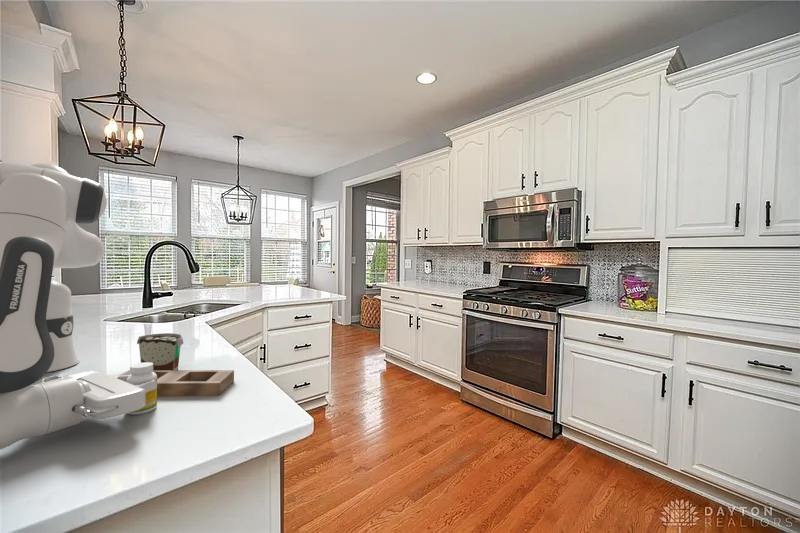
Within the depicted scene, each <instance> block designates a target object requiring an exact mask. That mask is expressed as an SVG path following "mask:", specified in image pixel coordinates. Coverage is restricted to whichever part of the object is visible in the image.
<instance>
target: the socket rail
mask: <svg viewBox="0 0 800 533" xmlns="http://www.w3.org/2000/svg"><path fill="white" fill-rule="evenodd" d="M152 372H154V373H156V375H157V397H186V396H187V397H188V396H189V397H190V396H191V397H193V396H194V397H196V396H197V397H199V396H200V397H201V396H206V397H207V396H210V397H211V396H212V397H213V396H221V394H223V392H225V390H227V388H229V387H230V386H231V385H232V384H233V383H234V382H235V370H234V369H206V370H205V369H202V370H200V369H195V370H194V369H193V370H192V369H191V370H190V369H187V370H186V369H185V370H183V369H180V370H179V369H178V370H153V371H152ZM123 375H131V373H130V369H128V370H127V371H125V372H122V373H121V374H119V375H118V376H123ZM233 381H234V382H233ZM232 382H233V383H232ZM231 383H232V384H231ZM230 384H231V385H230ZM229 385H230V386H229ZM228 386H229V387H228Z"/></svg>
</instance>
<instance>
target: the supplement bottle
mask: <svg viewBox="0 0 800 533" xmlns="http://www.w3.org/2000/svg"><path fill="white" fill-rule="evenodd" d="M129 370H130V373H131V374H132V375H130V376H129V377H128V378H127V379H126V382H128V383H130V384H133V385H141V384H143V383H144V381H149V380H154V381H157V375H156V373H154V372H152V371H153V363H150V362H144V363H141V362H137V363H134V364H132V365H130V367H129ZM157 407H158V396H157V388H156V389H154V390H151V391H148V392H147V393H146V403H145V406H144V407H142V408H141V409H139V410H136V411H133V412H129V413H127V415H143V414H147V413H149V412H152V411H154V410H155V409H156V408H157Z"/></svg>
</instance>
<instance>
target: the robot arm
mask: <svg viewBox="0 0 800 533" xmlns="http://www.w3.org/2000/svg"><path fill="white" fill-rule="evenodd" d="M107 199H108V198H107V195H106V193H105V189H104V188H103V186H101V184H100V183H98V182H96V181H94V180H91V179H89V178H86V177H83V178H81V177H78V176H75V175H72V174H70V173H69V172H67V171H66V170H65V169H64V168H62V167H59V166H57V165H53V164H50V163H33V164H31V165H29V164H22V163H16V162H8V161H3V160H2V159H0V450H2V449H4V448H8V447H10V446H12V445H14V444H15V443H17V442H20V441H23V440H24V439H29V438H36V437H37V438H38V437H42V436H45V435H49V434H52V433H55V432H59V431H61V430H64V429H67V428H71V427H74V426H77V425H79V424H80V423H81V421H82V420H83V417H85V418H88V417H89V418H93V419H95V420H105V419H106V420H107V419H110V418H115V417H118V416H122V415H125V414H128V413H129V412H133V411H136V410H139V409H141V408H142V407H144V406H145V403H146V393H147V392H148V391H151V390H154V389H156V388H157V381H154V380H149V381H144V383H143V384H141V385H133V384H130V383H128V382H126V379H127V378H128V377H129V376H130V375H123V376H119V375H115V376H112V375H109V374H107V373H104V372H102V371H98V370H97V371H84V372H78V373H73V374H69V375H63V376H59V375H51V376H46V377H44V376H45V374H47V373H49V372H55V371H58V370H64V369H67V368H70V367H72V366H73V367H74V366H75V365H77V364H79V362H80V361H79V360H80V359H79V358H78V355H77V353H76V349H75V345H74V344H75V343H74V338H73V330H74V314H73V315H72V291H71V289H70V288H69V286H68V285H66V284H64V283H61V282H59V281H56V280H54V279H52V277H53V271H54V269H79V268H87V267H93V266H96V265H97V264H99V262H101V260H102V259H103V257H104V255H105V246H104V244H103V241H102V239H100V237H98V235H96V234H94V233H91V232H89V231H86V230H85V229H84V228H82V227H81V226H79V225H78V224H85V225H86V224H94V223H95V222H97V221H99V219H100V217H102V216H103V214H104V213H105V211H106V209H107V205H108V204H107V202H108V201H107ZM131 375H132V374H131ZM42 377H43V378H42ZM41 378H42V379H41ZM40 379H41V383H36V382H37V381H39V380H40Z"/></svg>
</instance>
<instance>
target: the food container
mask: <svg viewBox="0 0 800 533" xmlns="http://www.w3.org/2000/svg"><path fill="white" fill-rule="evenodd" d="M183 344H184V339H183V337H182V335H181V334H179V333H171V332H169V333H168V332H166V333H162V332H161V333H152V334H145V335H140V336H138V338H137V343H136V345H138V346H139V347H138V348H139V359H140V363H144V362H150V363H153V370H179V365H180V364H179V362H180V355H181V354H180V353H181V347H182V345H183Z"/></svg>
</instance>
